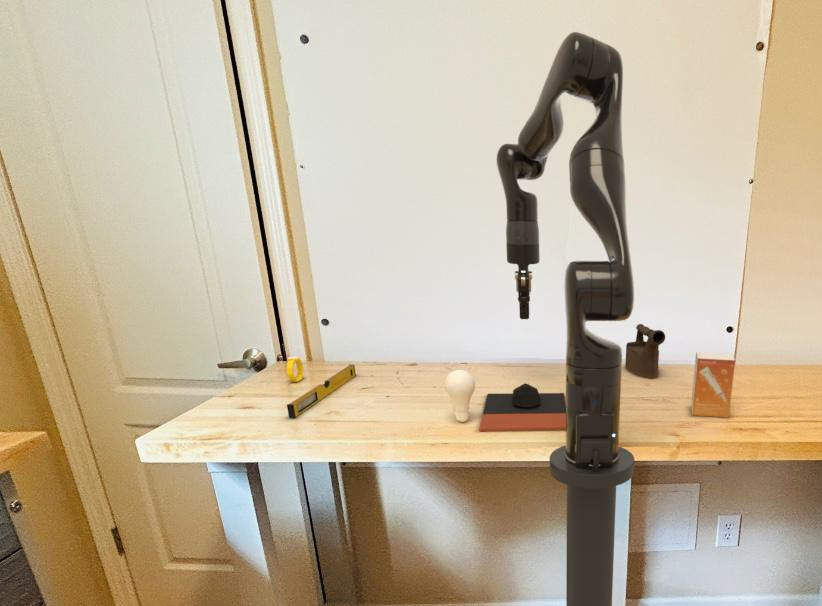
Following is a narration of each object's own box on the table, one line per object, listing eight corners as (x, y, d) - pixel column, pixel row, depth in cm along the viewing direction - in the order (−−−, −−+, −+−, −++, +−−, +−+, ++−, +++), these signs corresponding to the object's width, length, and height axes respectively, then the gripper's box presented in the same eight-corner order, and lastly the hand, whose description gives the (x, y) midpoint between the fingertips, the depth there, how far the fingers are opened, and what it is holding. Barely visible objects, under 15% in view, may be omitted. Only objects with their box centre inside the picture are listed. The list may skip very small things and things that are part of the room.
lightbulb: (483, 420, 127) (480, 369, 123) (463, 428, 122) (459, 375, 118) (461, 415, 130) (458, 365, 126) (441, 422, 125) (436, 371, 121)
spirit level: (350, 375, 156) (349, 364, 155) (356, 375, 156) (354, 364, 155) (289, 418, 126) (286, 404, 124) (295, 418, 126) (293, 404, 124)
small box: (692, 416, 133) (697, 357, 128) (690, 407, 139) (695, 351, 134) (729, 418, 132) (735, 359, 127) (726, 409, 138) (732, 352, 133)
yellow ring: (297, 384, 148) (293, 360, 146) (286, 384, 148) (281, 360, 146) (307, 377, 154) (303, 354, 151) (296, 377, 154) (292, 354, 151)
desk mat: (569, 430, 123) (569, 427, 123) (479, 431, 121) (479, 428, 121) (563, 395, 145) (563, 392, 145) (487, 395, 143) (487, 393, 143)
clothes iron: (640, 382, 157) (642, 330, 152) (624, 366, 171) (625, 319, 166) (669, 381, 159) (672, 330, 154) (650, 365, 173) (653, 318, 168)
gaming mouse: (537, 390, 146) (536, 374, 145) (541, 409, 133) (541, 391, 131) (510, 390, 145) (510, 374, 144) (512, 410, 132) (512, 392, 130)
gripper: (539, 243, 132) (540, 323, 139) (539, 240, 145) (540, 312, 152) (504, 243, 131) (507, 322, 138) (507, 239, 144) (509, 312, 151)
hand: (524, 317), depth 145 cm, fingers open, 3 cm apart
